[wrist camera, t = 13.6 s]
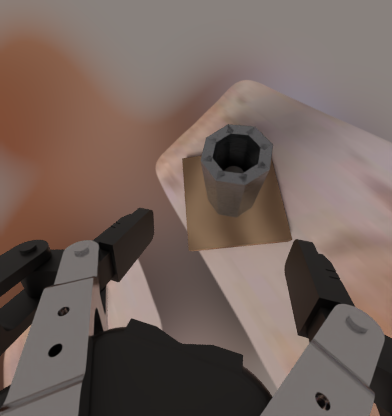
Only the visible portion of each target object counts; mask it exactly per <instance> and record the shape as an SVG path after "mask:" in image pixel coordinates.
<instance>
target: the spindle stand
mask: <svg viewBox="0 0 392 416" xmlns="http://www.w3.org/2000/svg"><path fill="white" fill-rule="evenodd" d="M201 157H202V156H196V157H189V158H183V159H182V160H183V174H184V189H185V203H186V217H187V232H188V246H189V251H199V250H209V249H219V248H229V247H239V246H249V245H258V244H268V243H278V242H288V241H290V240H292V237H291V233H290V229H289V225H288V221H287V217H286V213H285V209H284V205H283V201H282V198H281V194H280V190H279V186H278V182H277V178H276V174H275V170H274V166H273V162H272V158H271V164H270V170H269V172H268V174H267V176H266V179H265V181H264V183H263V185H262V187H261V189H260V191H259V194H258V196H257V198H256V200H255V202H254V204H253V206H252V208H250V209H249V210H247V211H246V212H244V213H243V214H241V215H240V216H238V217H237V218H236V217H231V216H225V215H220V214H218V213H217V212H216V211H215V209H214V208H213V206H212V205H211V204H210V202H209V201H208V197H207V192H206V187H205V182H204V176H203V171H202V166H201V161H200V160H201ZM224 171H226V172H233V173H241V174H243V173H244V172H243V170H242V169H241V168H239V167H237V166H231V167H228V168H226V169H225V170H224Z"/></svg>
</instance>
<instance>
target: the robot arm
mask: <svg viewBox="0 0 392 416" xmlns="http://www.w3.org/2000/svg"><path fill="white" fill-rule="evenodd" d="M153 235H154V219H153V211H152V210H149V209H144V208H138V209H137V210H136V211H135V212H134V213H132V214H129V215H126V216H124V217H122V218H120V219H119V220H118V221H117V222H116V223H114V224H113V225H112V226H111V227H109V228H108V229H107V230H105V231H104V232H103V233H102V234H100V235H99V236H98V237H97V238H95V239H94V240H93V241H90V240H86V241H80V242H77V243H74V244H72V245H70V246H69V247H68V248H66V250H50V248H49V245H48V243H47V242H46V241H44V240H32V241H28V242H24V243H22V244H19V245H18V246H16V247H14V248H12V249H11V250H9V251H7V252H6V253H4V254H2V255H1V256H0V297H1V296H2V295H3V294H5V293H6V292H7V291H9V290H10V289H11V288H12V287H14V286H15V285H16V284H18V283H19V282H20V281H21V283H22V285H23V287H24V290H22V291H21V292H20V293H19V294H18V295H16V296H15V297H14V298H13V299H11V300H10V301H9V302H8V303H7V304H5V305H4V306H3V307H2V308H0V356H1V354H2V353H4V352H5V350H6V349H7V348H8V347H9V346H10V345H11V344H12V343H13V342H14V341H15V340H16V339H17V338H18V337H19V336H20V335H21V334H22V333H23V332H24V331H25V330H26V329H27V328H28V327H29V326H30V325H31V324H32V325H31V328H30V331H29V334H28V337H27V340H26V343H25V345H24V348H23V351H22V354H21V357H20V360H19V363H18V366H17V369H16V372H15V375H14V378H13V381H12V384H11V385H9V386H8V387H6V388H4V389H3V390H1V391H0V416H370V412H371V409H372V406H373V402H374V403H375V404H376V406H377V408H378V411H379V414H380V416H392V338H390V337H388V336H386V335H384V333H383V331H382V329H381V328H380V326H379V325H378V324H377V323H376V322H375V321H374V320H373V319H372V318H371V317H370V316H369V315H368V314H366V313H365V312H363V311H362V310H360V309H358V308H356V307H355V306H354V304H353V302H352V300H351V298H350V296H349V295H348V293H347V291H346V289H345V287H344V285H343V283H342V282H341V280H340V278H339V276H338V274H337V273H336V270H335V269H334V267H333V265H332V263H331V262H330V261H329V260H328V259H327V258H326V257H325V256H324V255H323V254H318V252H317V250H316V248H315V246H314V244H313V243H312V242H308V241H303V240H298V239H296V240H295V241H294V242H293V245H292V247H291V250H290V252H289V255H288V258H287V260H286V263H285V277H286V281H287V286H288V291H289V295H290V300H291V305H292V310H293V314H294V319H295V324H296V329H297V333H298V335H299V336H303V337H306V338H308V339H309V342H310V343H309V345H308V346H307V348H306V349H305V351H304V352H303V354H302V355H301V357H300V358H299V359H298V361H297V362H296V364H295V365H294V367H293V368H292V370H291V371H290V373H289V374H288V376H287V377H286V379H285V380H284V381H283V383H282V384H281V386H280V387H279V389H278V390H277V392H276V393H275V395H274V396H273V397H272V395H271V394H270V392H269V391H268V390H267V388H266V387H265V386H264V385H263V384H262V382H261V381H260V380H259V379H258V378H257V377H256V376H255V375H254V374H252V373H251V372H250V371H249V370H248V369H247V368H245V367H243V355H241V354H238V353H235V352H232V351H229V350H226V349H223V348H220V347H217V346H214V345H196V344H182V343H179V342H178V341H176V340H175V339H173V338H172V337H170V336H169V335H168V334H166V333H165V332H163V331H162V330H161V329H159V328H158V327H156V326H153V325H150V324H147V323H144V322H141V321H138V320H135V319H132V318H131V320H130V322H129V323H128V325H127V327H120V328H114V329H109V330H108V288H107V283H108V282H109V281H110V280H113V281H116V282H120V280H121V279H122V278H123V277H124V275H125V274H126V273H127V271H128V270H129V269H130V268H131V266H132V265H133V264H134V263H135V261H136V260H137V259H138V257H139V256H140V255H141V254H142V252H143V251H144V250H145V249H146V247H147V246H148V245H149V244H150V242H151V241H152V239H153Z"/></svg>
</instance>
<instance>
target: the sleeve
mask: <svg viewBox="0 0 392 416" xmlns="http://www.w3.org/2000/svg"><path fill="white" fill-rule="evenodd" d="M272 148H273V144H272V143H271V142H270V141H269V140H268V139H267V138H266V137H265V136H264V135H263V134H262V133H261V132H260V131H259V130H258V129H257V128H256V127H252V126H241V125H229V124H228V125H226V126H225V127H223V128H221V129H220V130H218V131H217V132H215V133H213V134H212V135H210V136H208V137H207V138H206V141H205V145H204V149H203V153H202V157H201V160H200V161H201V166H202V171H203V176H204V182H205V187H206V192H207V197H208V201H209V202H210V204H211V205H212V206H213V208H214V209H215V211H216V212H217V213H218V214H220V215H225V216H231V217H236V218H237V217H238V216H240V215H241V214H243V213H244V212H246V211H247V210H249V209H250V208H252V206H253V204H254V202H255V200H256V198H257V196H258V194H259V191H260V189H261V187H262V185H263V183H264V181H265V179H266V176H267V174H268V172H269V170H270V164H271V156H272ZM231 166H237V167H239V168H241V169H242V170H243V172H244V173H243V174H241V173H233V172H226V171H224V170H225V169H226V168H228V167H231Z"/></svg>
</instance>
